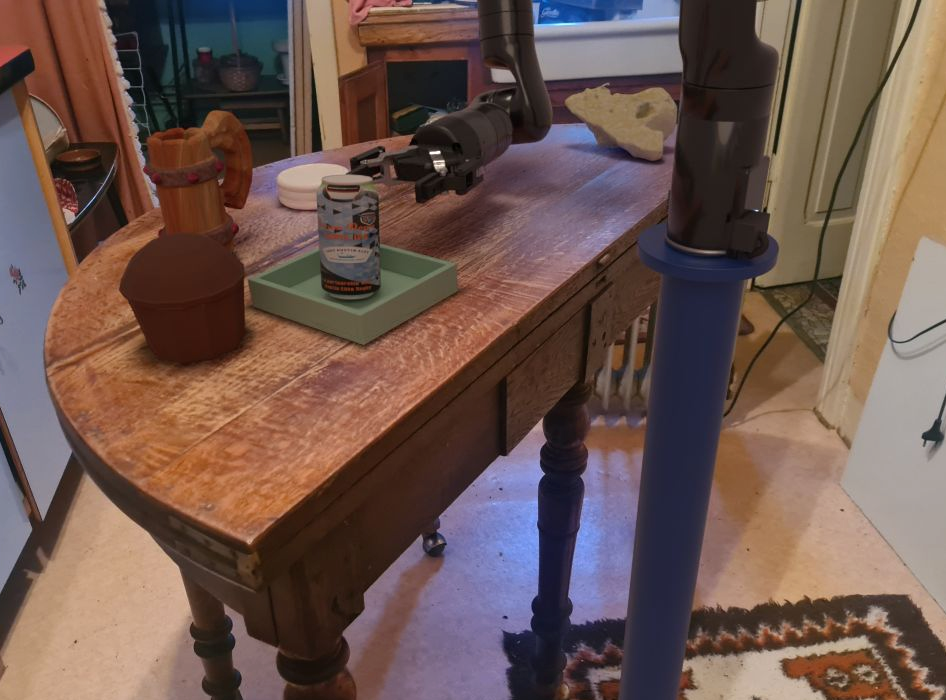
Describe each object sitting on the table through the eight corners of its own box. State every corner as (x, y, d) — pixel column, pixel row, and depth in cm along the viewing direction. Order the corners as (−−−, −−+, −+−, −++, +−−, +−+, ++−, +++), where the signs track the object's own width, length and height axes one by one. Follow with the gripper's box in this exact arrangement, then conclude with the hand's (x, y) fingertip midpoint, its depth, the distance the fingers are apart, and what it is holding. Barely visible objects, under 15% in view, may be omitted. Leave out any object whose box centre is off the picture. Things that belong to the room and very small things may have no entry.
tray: (458, 291, 90) (456, 263, 88) (363, 345, 80) (360, 315, 79) (350, 260, 98) (346, 234, 96) (252, 306, 88) (247, 278, 86)
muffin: (260, 360, 78) (240, 256, 73) (134, 378, 76) (103, 273, 71) (253, 307, 88) (235, 212, 82) (141, 322, 86) (114, 226, 80)
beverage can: (315, 306, 86) (297, 188, 79) (337, 277, 92) (322, 165, 85) (375, 309, 85) (362, 190, 78) (393, 280, 91) (383, 166, 84)
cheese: (692, 167, 129) (662, 86, 133) (692, 141, 122) (661, 55, 126) (594, 202, 132) (568, 120, 136) (589, 177, 125) (562, 93, 129)
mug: (201, 280, 94) (170, 140, 86) (148, 267, 98) (113, 132, 89) (286, 236, 105) (265, 108, 96) (236, 227, 108) (212, 102, 100)
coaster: (269, 195, 118) (265, 170, 116) (337, 183, 122) (333, 158, 120) (294, 216, 111) (290, 189, 109) (364, 202, 115) (362, 175, 113)
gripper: (399, 111, 101) (320, 146, 89) (509, 120, 95) (440, 159, 84) (404, 174, 105) (330, 216, 93) (510, 187, 100) (444, 233, 88)
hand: (382, 189), depth 88 cm, fingers open, 8 cm apart
